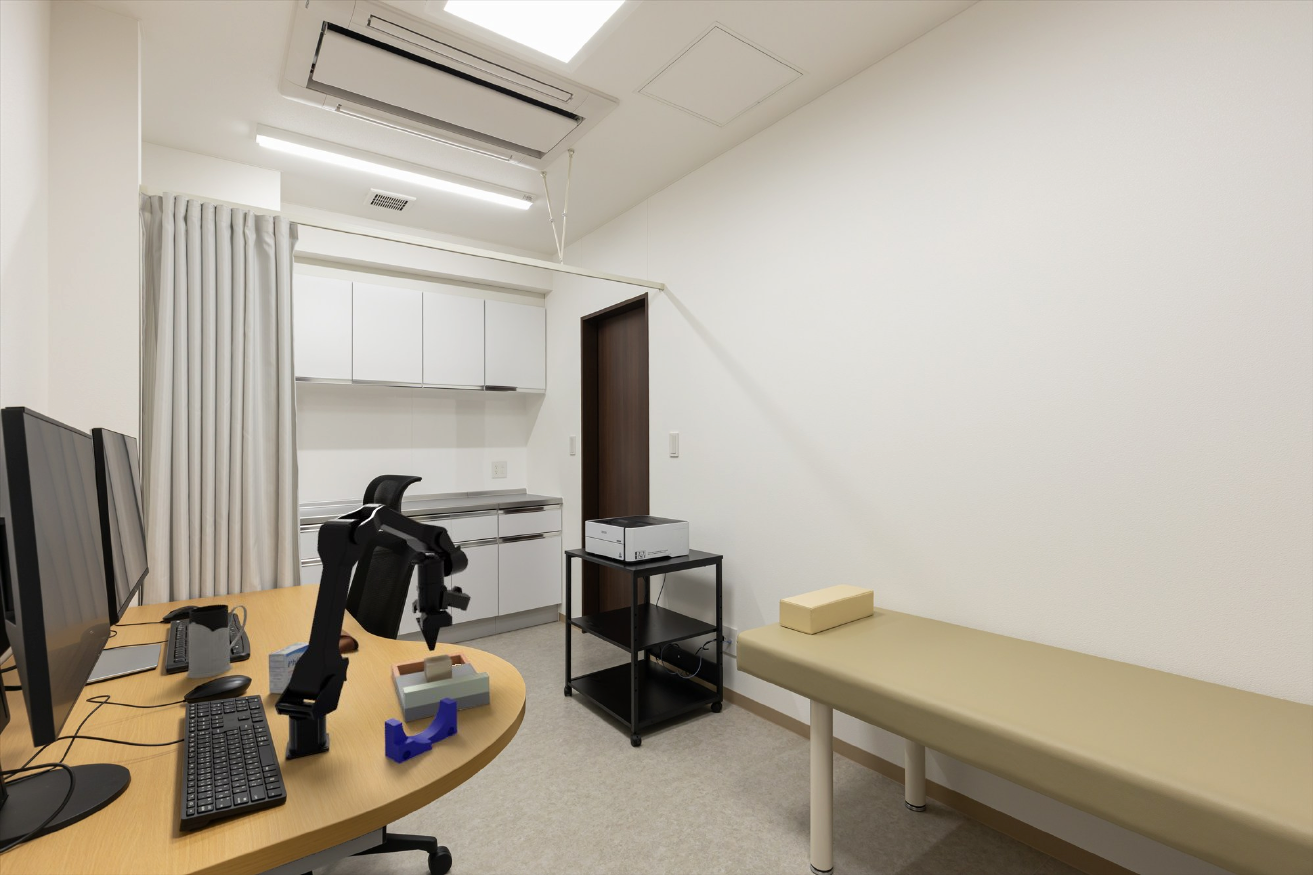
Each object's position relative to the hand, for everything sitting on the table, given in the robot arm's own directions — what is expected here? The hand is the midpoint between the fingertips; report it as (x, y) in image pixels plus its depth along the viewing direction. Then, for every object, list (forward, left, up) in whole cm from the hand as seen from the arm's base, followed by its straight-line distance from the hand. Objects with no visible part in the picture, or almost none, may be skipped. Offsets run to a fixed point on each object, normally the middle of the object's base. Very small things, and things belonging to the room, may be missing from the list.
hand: (431, 650), depth 137 cm
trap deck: (-7, 0, -6) cm, 9 cm away
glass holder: (+35, +44, -6) cm, 57 cm away
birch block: (-8, 0, -4) cm, 9 cm away
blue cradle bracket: (-32, +6, -7) cm, 34 cm away
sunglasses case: (+39, +20, -7) cm, 44 cm away
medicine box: (+11, +28, -6) cm, 31 cm away
